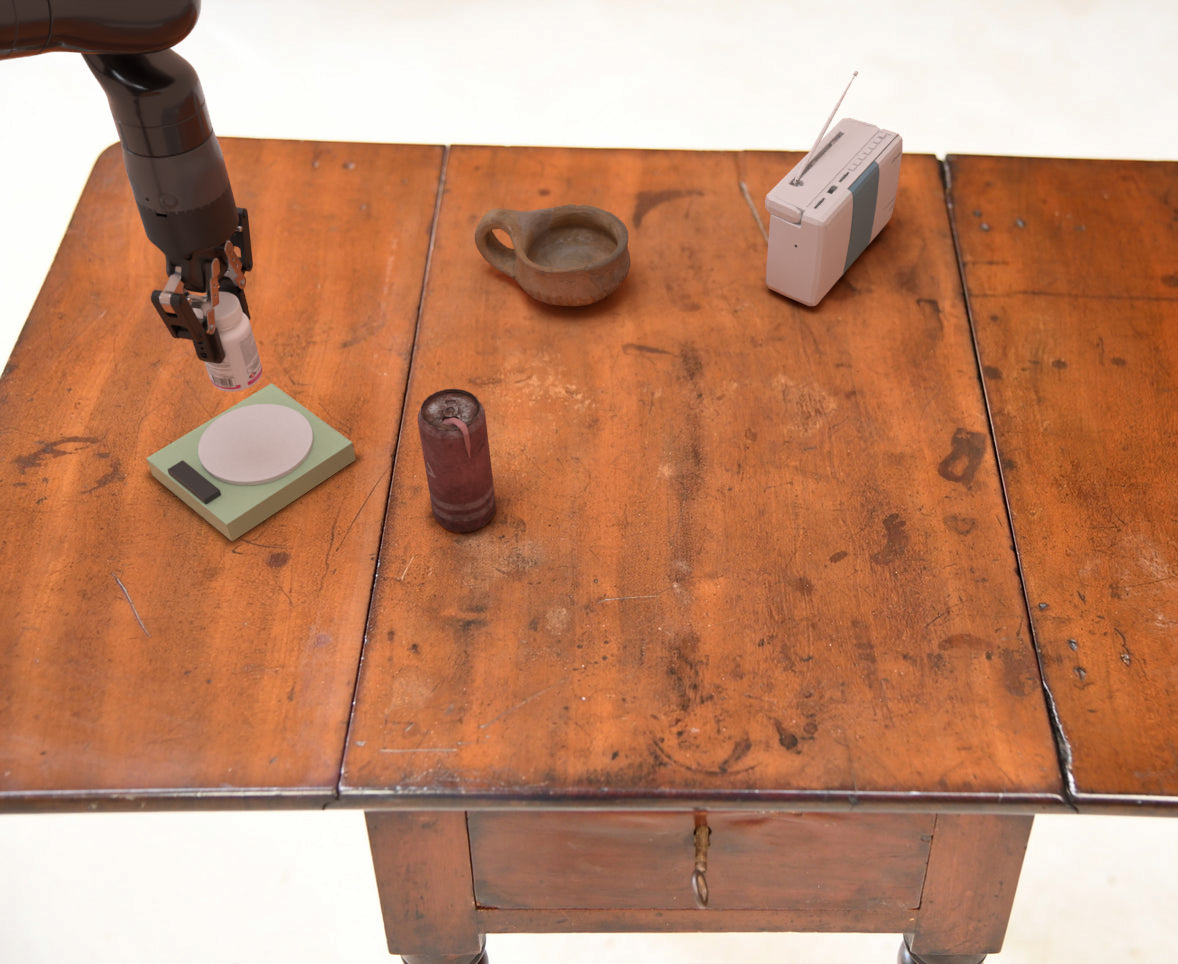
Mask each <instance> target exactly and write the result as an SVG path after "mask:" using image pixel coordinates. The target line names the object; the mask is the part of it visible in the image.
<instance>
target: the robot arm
mask: <svg viewBox="0 0 1178 964" xmlns="http://www.w3.org/2000/svg"><path fill="white" fill-rule="evenodd" d="M201 12H202V0H0V62H1V61H8V60H16V59H21V58H28V57H34V56H40V55H44V54H49V53H72V54H73V53H75V54H80V55H81V57H82V58H83V60H84V62H85V64H86V66H87V67H88V69H89V71H90V72H91V74H92V75H93V77H94V78H95V80H96V81H97V83H98V84H99V85H100V87H101V89H102V90H103V92H104V94H105V96H106V99H107V102H108V103H107V104H108V107H109V110H110V114H111V117H112V119H113V122H114V127H115V129H116V132H117V135H118V138H119V142H120V145H121V151H122V158H123V165H124V169H125V173H126V175H127V178H128V181H129V185H130V188H131V191H132V194H133V197H134V200H135V203H136V206H137V210H138V213H139V216H140V220H141V223H142V226H143V229H144V233H145V235H146V237H147V239H148V240H149V241H150V242H151V244H153V245H154V246H155V247H157V249H158V250H160V251H161V253H162V254H163V255H164V257H165V272H166V275H167V277H168V280H167V282H166V284H165V285H164V288H163V290H161V289H153V290H152V292H151V295H150V301H151V304H152V305H153V307H154V308H155V310H156V313H158V315H159V317H160V319H161V321H162V322H163V324H164V325H165V327H166V329H167V330H168V332H169V333H170V335H171V337H172V338H174V339H182V340H188V341H192V344H193V348H194V351H195V353H196V357H197V359H198V360H199V361H202V362H204V363H205V362H210V363H216V364H220V363H222V361H223V360H224V358H225V353H224V350H223V346H222V343H221V339H220V336H219V332H218V329H217V328H216V324H215V310H214V308H215V307H216V306H218V305H219V292H228V293H231V294H233V295H235V296H236V297H237V298H238V300H239V302H240V305H241V308H242V312H243V313H244V314H245V315H246V316H247V317H248V319H249V321H251V318H252V317H251V314H250V310H249V305H248V301H247V297H246V294H245V290H244V289H245V288H246V285H247V278H246V276H245V274H246V272H248V273H250V272H252V270H253V268H254V260H253V249H252V241H251V231H250V230H251V229H250V222H249V221H250V220H249V212H248V209H247V208H245V207H239V206H237V204H236V200H235V197H234V193H233V189H232V185H231V181H230V177H229V173H228V169H227V165H226V161H225V158H224V157H225V156H224V154H223V150H222V147H221V144H220V142H219V140H218V138H217V136H216V133H215V131H214V127H213V124H212V120H211V116H210V112H209V108H208V104H207V101H206V97H205V94H204V89H203V85H202V82H201V79H200V77H199V75H198V72H197V71H196V69H195V68H194V66H193V65H192V64H191V63H190V62H189V61H188V60H187V59H186V58H185V57H184V56H182V55H180V54H179V53H178V52H176V51H175V50H173V49H172V48H174V47H175V46H177V45H179V44H180V43H182V42H183V41H184V40H186V38H187V37H188V36H190V34H191V33H192V32H193V30H194V29H195V27H196V25H197V23H198V21H199V19H200V16H201ZM235 247H236V248H238V249H239V252H240V256H239V255H237V253H236V251H235ZM191 292H192V293H199V294H205V295H206V296H204V295H198V294H192V293H191ZM193 308H197V309H201V310H202V312H203V319H202V318H197V316H196V314H195V312H194V311H193Z"/></svg>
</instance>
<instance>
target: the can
mask: <svg viewBox="0 0 1178 964" xmlns="http://www.w3.org/2000/svg"><path fill="white" fill-rule="evenodd" d="M486 416H487V415H486V410H485V408H484V406H483V404H482V403H481V401H479V398H478V397H477V396H476V395H475V394H473V393H472V392H471V391H468V390H465V389H460V388H445V389H441V390H438V391H435V392H433V393H432V394H429V395H428V396H427V397H426V398H425V399H424V400H423V401H422V403H421V406H420V409H419V411H418V414H417V426H418V432H419V438H420V444H421V451H422V456H423V463H424V468H425V474H426V480H427V487H428V493H429V498H430V504H431V510H432V515H433V517H434V519H435V521H436V522H437V523H438V524H439V525H440V526H441V527H443V528H444V529H446V530H449V531H450V532H455V533H460V534H461V533H470V532H474V531H477V530H480V529H481V528H482V527H484V526H486V525H487V524H488V523H489V522H490V520H491V519H492V518H493V517H494V514H495V512H496V509H497V508H496V507H497V506H496V504H497V503H496V494H495V487H494V486H495V484H494V478H493V477H494V476H493V469H492V461H491V451H490V441H489V434H488V433H489V432H488V425H487V417H486Z"/></svg>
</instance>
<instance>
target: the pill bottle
mask: <svg viewBox="0 0 1178 964" xmlns="http://www.w3.org/2000/svg"><path fill="white" fill-rule="evenodd" d="M203 296H206V294H203ZM214 310H215V324H216V328H217V329H218V332H219V336H220V339H221V343H222V346H223V350H224V353H225V358H224V360H223V361H222V363H220V364H216V363H210V362H204V365H205V369H206V372H207V375H208V378H209V381H210V384H211V385H212V386H213V387H214V388H216V389H217V390H219V391H222V392H225V393H226V392H227V393H237V392H241V391H245V390H247V389H250V388H252V387H254V386H255V385H256V384H257V383H258V382H259V381H260V380H261V378H262V376H263V366H262V365H263V364H262V361H261V358H260V357H261V356H260V353H259V349H258V346H257V343H256V339H255V335H254V332H253V328H252V324H251V320H249V319H248V317H247V316H246V315H245V314H244V313H243V312H242V308H241V305H240V302H239V300H238V298H237V297H236V296H235V295H233V294H231V293H228V292H219V305H218V306H216V307H215V308H214ZM193 311H194V312H195V314H196V316H197V318H202V319H203V312H202V310H201V309H197V308H193Z"/></svg>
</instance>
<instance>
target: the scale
mask: <svg viewBox="0 0 1178 964" xmlns="http://www.w3.org/2000/svg"><path fill="white" fill-rule="evenodd" d="M356 457H357V456H356V452H355V448H354V443H353V442H352V441H351V439H349V438H347V437H346V436H345V435H343V434H342V433H341V432H339V431H338V430H337V429H335V428H333V427H332V426H331V425H330V424H328V423H327V422H326V421H324V420H323V419H321V418H320V417H319V416H317V415H316V414H315V413H313V412H312V411H310V410H309V409H308V408H306V407H305V406H304V405H302V404H301V403H299V402H298V401H297V400H296V399H294V398H293V397H291V396H290V395H289V394H288V393H286V392H285V391H283V390H282V389H281V388H279V387H278V386H277V385H275V384H274V383H273V382H271V383H269V384H268V385H266V386H264V387H263V388H261V389H259V390H257V391H256V392H254V393H252V394H251V395H249V396H247V397H246V398H244V399H242V400H240V401H239V402H238V403H236V404H234V405H232V406H231V407H229V408H228V409H226V410H224V411H222V412H220V414H218V415H216V416H214V417H212V418H211V419H209V420H208V421H205V422H204V423H202V424H201V425H199V426H197V427H195V428H194V429H193V430H191V431H189V432H187V433H186V434H184V435H182V436H181V437H178V439H176V440H174V441H172V442H171V443H169V444H167V445H166V446H164V447H162V448H161V449H159V450H158V451H155V452H154V453H152V454H151V455H149V456H148V457H146V458H145V459H146V462H147V464H148V467H149V470H150V472H151V475H152V477H154V479H156V480H157V481H158V482H159V483H161V484H162V485H163V486H164V487H166V488H167V489H168V490H169V491H170V492H172V494H174V495H175V496H176V497H178V498H179V499H180V500H181V501H182V502H183V503H185V504H186V505H187V506H188V507H189V508H191V509H192V510H193V511H194V512H196V513H197V514H198V515H199V516H200V517H202V518H203V519H204V520H205V521H206V522H207V523H209V524H210V525H211V526H212V527H213V528H215V529H216V530H217V531H219V532H220V533H221V534H222V535H224V536H225V537H226V538H227V539H228V540H229V541H230V542H234V541H236V540H237V539H239V538H240V537H241V536H243V535H244V534H246V533H248V532H250V530H252V529H254V528H255V527H256V526H258V525H259V524H261V523H262V522H264V521H265V520H268V519H269V518H270V517H272V516H273V515H275V514H276V513H278V512H280V510H282V509H284V508H285V507H287V506H288V505H290V504H291V503H293V502H294V501H297V499H299V498H301V497H302V496H304V495H305V494H307V493H308V492H309V491H311V490H312V489H314V488H315V487H317V486H319V485H320V484H322V483H323V482H324V481H326V480H328V479H329V478H331V477H332V476H334V475H335V474H337V473H338V472H339V471H341V470H343V469H344V468H346V467H348V466H349V465H350V464H352V463H353V462H355V461H356V460H357V458H356Z"/></svg>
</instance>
